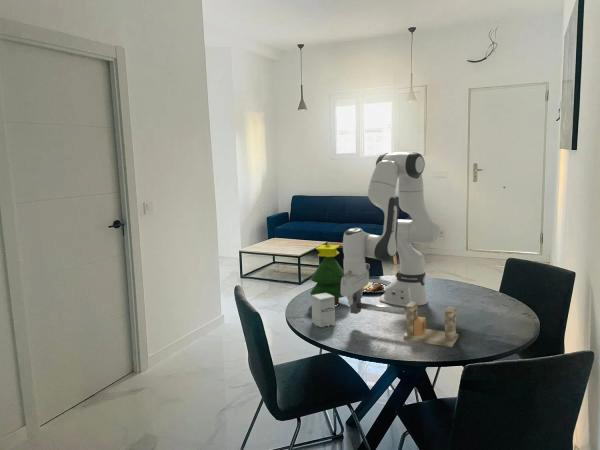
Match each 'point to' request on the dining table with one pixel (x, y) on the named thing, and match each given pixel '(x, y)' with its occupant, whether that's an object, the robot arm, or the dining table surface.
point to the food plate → (376, 285)
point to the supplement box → (323, 309)
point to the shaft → (371, 306)
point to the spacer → (419, 326)
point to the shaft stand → (430, 335)
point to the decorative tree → (328, 273)
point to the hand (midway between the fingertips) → (355, 301)
